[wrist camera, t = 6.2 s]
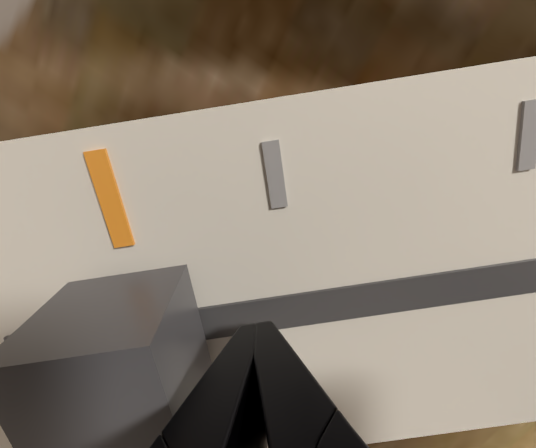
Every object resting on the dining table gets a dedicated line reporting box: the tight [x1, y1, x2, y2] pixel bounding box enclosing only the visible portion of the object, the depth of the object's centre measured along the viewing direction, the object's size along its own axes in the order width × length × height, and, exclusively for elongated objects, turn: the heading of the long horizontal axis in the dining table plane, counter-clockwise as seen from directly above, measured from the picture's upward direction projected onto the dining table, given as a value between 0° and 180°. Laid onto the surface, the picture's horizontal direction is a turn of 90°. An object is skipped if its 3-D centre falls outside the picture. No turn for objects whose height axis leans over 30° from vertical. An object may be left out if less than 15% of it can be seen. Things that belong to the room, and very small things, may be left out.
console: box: [0, 56, 536, 448], centre depth 10 cm, size 11×20×2 cm, turn 99°
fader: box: [0, 264, 212, 448], centre depth 8 cm, size 4×3×3 cm
